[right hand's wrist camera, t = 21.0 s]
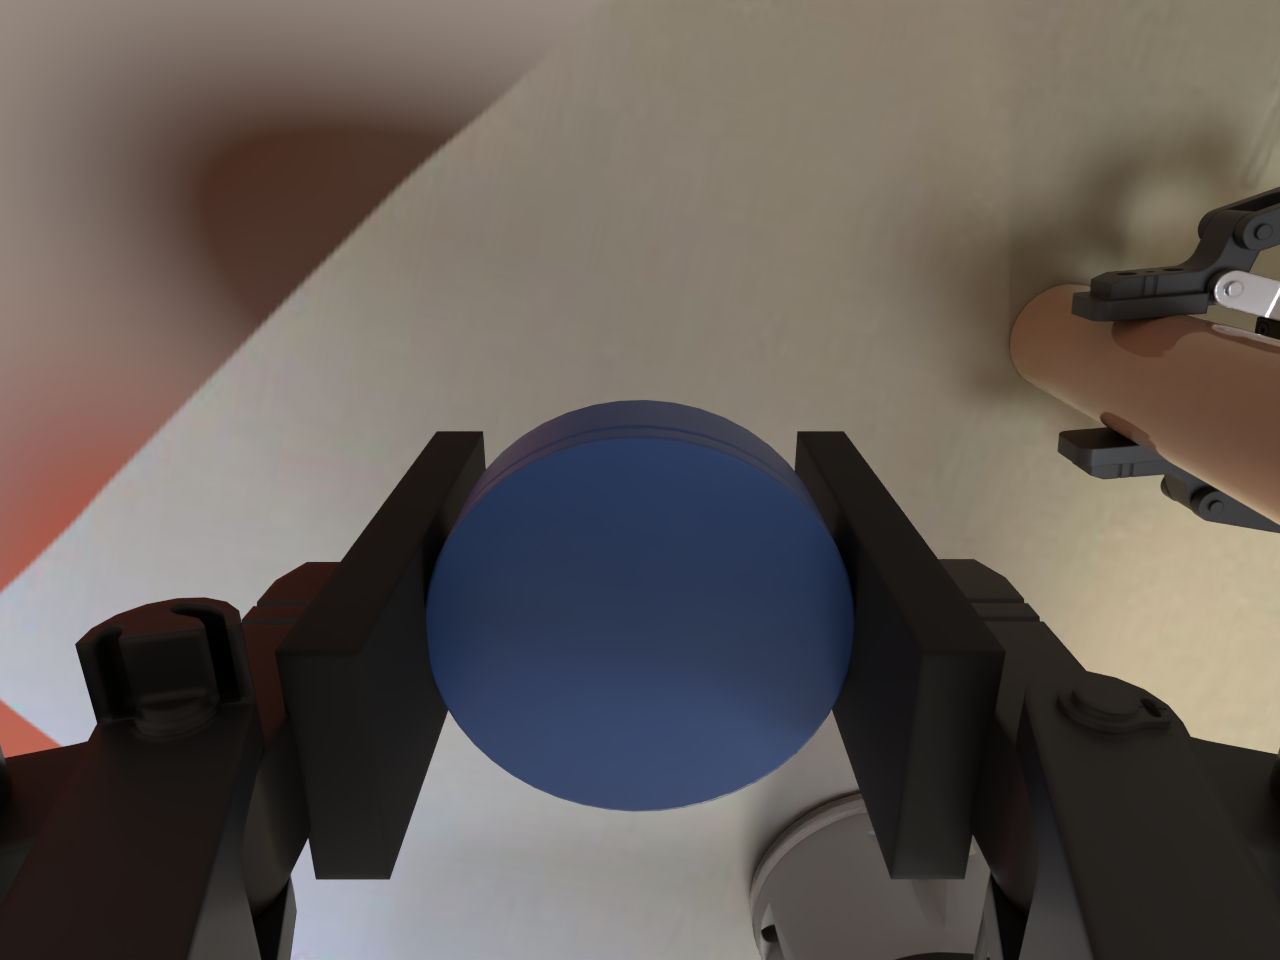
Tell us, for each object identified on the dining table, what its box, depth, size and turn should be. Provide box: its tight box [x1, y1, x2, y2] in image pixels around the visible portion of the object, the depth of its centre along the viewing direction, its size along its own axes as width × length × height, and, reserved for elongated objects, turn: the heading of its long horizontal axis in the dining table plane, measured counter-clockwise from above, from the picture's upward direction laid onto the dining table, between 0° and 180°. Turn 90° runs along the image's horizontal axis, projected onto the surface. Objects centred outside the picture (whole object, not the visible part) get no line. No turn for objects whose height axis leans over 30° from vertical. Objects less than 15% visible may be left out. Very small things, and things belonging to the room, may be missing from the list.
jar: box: [1010, 284, 1280, 525], centre depth 28 cm, size 5×5×18 cm
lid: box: [425, 400, 855, 811], centre depth 11 cm, size 5×5×2 cm
